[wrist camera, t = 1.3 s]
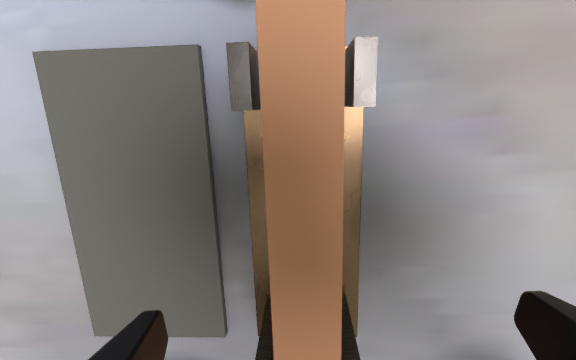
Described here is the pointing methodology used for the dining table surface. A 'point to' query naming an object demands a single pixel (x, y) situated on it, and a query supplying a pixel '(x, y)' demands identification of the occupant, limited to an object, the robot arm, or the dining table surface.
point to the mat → (138, 183)
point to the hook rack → (356, 97)
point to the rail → (303, 171)
